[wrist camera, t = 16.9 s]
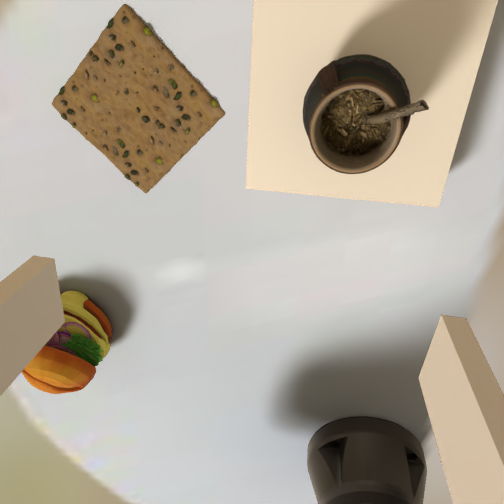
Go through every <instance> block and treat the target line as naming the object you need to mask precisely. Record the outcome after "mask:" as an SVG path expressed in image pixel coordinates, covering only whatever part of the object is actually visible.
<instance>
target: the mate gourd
mask: <svg viewBox="0 0 504 504" xmlns="http://www.w3.org/2000/svg"><path fill="white" fill-rule="evenodd" d="M303 101H304V104H303V123H304V128H305V130H306V133H307V136H308V138H309V141H310V145H311V148H312V150H313V152H314V154H315V155H316V157H317V158H318V159H319V160H320V161H321V162H322V163H323V164H325V165H326V166H327V167H329V168H330V169H332V170H334V171H337V172H340V173H344V174H361V173H365V172H368V171H371V170H373V169H375V168H377V167H379V166H380V165H382V164H383V163H384V162H386V161H387V160H388V159H389V158H390V157H391V155H392V154H393V153H394V152H395V150H396V148H397V147H398V145H399V143H400V141H401V138H402V136H403V134H404V132H405V131H406V129H407V127H408V125H409V122H410V118H411V115H413V114H414V113H415V112H421V111H425V110H429V107H428V105H427V103H426V102H425V101H424V100H420V101H418V102H416V103H412V104H411V100H410V93H409V89H408V88H407V85H406V83H405V79H404V78H403V77H402V75H401V74H400V73H399V72H398V70H397V69H396V68H395V67H394V66H392V65H391V63H389V62H387V61H385V60H383V59H381V58H378V57H376V56H373V55H369V54H368V55H366V54H358V55H357V54H356V55H351V56H345V57H342V58H339V59H338V60H333V61H332V62H330V63H329V64H328V65H327V66H325V67H323V68H322V69H321V70H320V71H319V72H318V74H317V75H316V77H315V78H314V80H313V81H312V83H311V85H310V86H309V88H308V90H307V92H306V95H305V97H304V100H303Z"/></svg>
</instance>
